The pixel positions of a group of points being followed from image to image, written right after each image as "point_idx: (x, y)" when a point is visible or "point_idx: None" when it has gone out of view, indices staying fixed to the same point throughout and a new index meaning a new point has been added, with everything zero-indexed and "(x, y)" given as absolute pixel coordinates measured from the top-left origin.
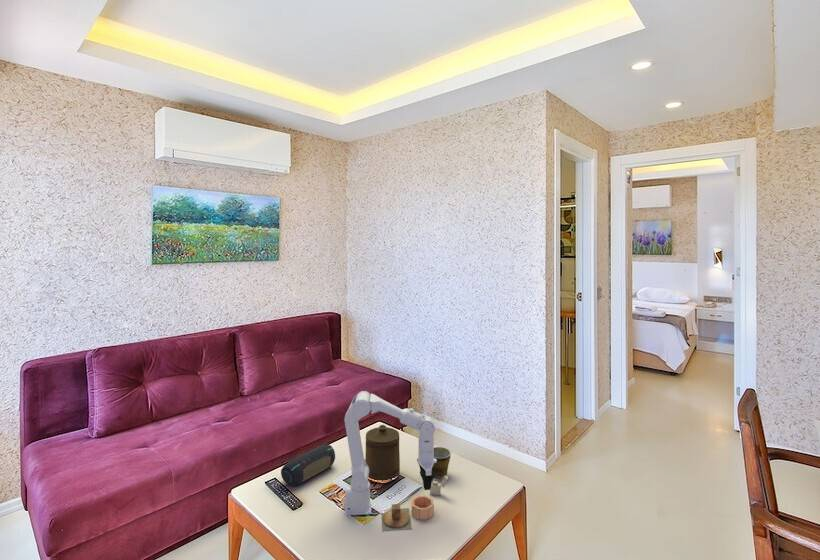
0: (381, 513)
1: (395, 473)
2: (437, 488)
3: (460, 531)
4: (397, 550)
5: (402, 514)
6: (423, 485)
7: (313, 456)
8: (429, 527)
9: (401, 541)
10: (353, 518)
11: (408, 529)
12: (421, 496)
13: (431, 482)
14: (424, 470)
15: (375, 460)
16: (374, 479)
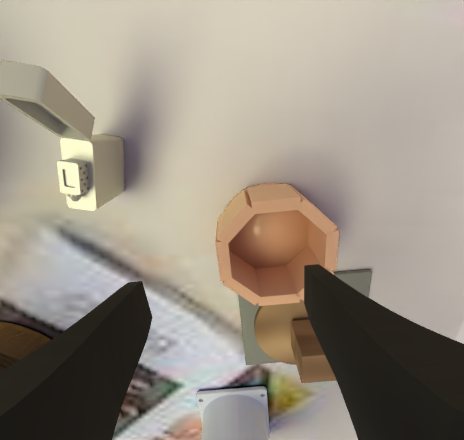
0: (267, 362)
1: (15, 359)
2: (103, 159)
3: (429, 44)
4: (455, 309)
5: (291, 309)
6: (319, 335)
7: None
8: (364, 203)
9: (416, 299)
10: (280, 417)
11: (368, 282)
12: (223, 261)
13: (376, 305)
14: (111, 364)
15: None
16: None
